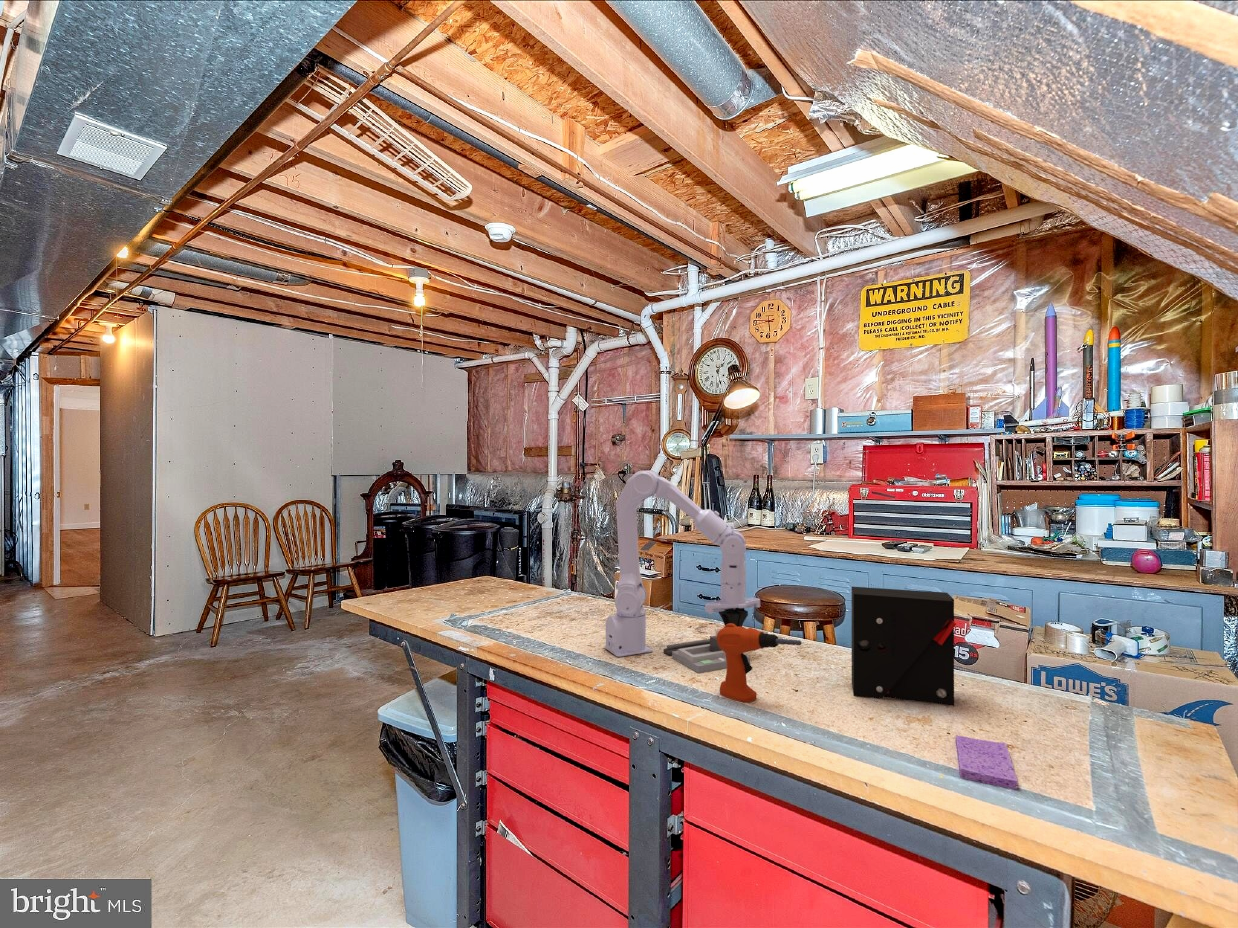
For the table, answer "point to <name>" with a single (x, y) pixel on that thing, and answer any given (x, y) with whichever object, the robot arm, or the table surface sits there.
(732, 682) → the toy drill
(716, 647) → the breaker slider
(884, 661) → the electrical component
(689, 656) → the breaker panel
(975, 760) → the sponges
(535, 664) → the table surface
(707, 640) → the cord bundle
